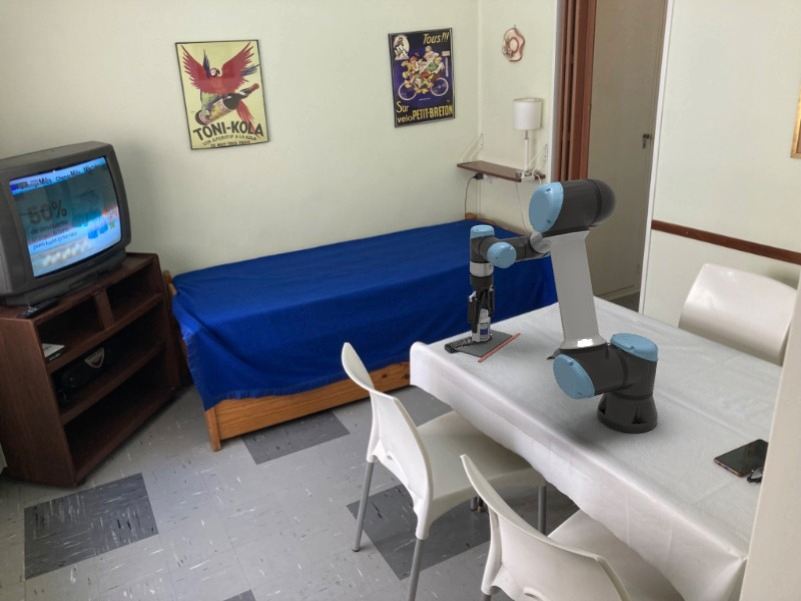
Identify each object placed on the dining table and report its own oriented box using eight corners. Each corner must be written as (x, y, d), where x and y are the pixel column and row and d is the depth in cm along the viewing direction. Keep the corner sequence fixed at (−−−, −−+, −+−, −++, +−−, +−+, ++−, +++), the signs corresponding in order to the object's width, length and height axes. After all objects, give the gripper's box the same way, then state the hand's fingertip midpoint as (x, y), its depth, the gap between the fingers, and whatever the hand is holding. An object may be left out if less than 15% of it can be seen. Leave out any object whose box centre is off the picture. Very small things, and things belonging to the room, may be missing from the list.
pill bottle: (476, 333, 222) (477, 306, 218) (492, 336, 219) (492, 309, 215) (469, 339, 217) (469, 312, 214) (485, 343, 214) (485, 315, 211)
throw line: (480, 362, 205) (480, 361, 205) (477, 361, 205) (477, 360, 205) (520, 334, 223) (520, 333, 223) (518, 333, 224) (518, 332, 224)
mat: (481, 357, 208) (481, 356, 208) (453, 349, 214) (453, 348, 214) (512, 336, 222) (512, 335, 222) (485, 329, 229) (485, 327, 228)
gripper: (475, 283, 201) (475, 350, 209) (506, 267, 214) (504, 330, 223) (455, 278, 205) (456, 344, 214) (487, 263, 219) (486, 325, 227)
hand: (480, 337), depth 218 cm, fingers closed on pill bottle, 6 cm apart
